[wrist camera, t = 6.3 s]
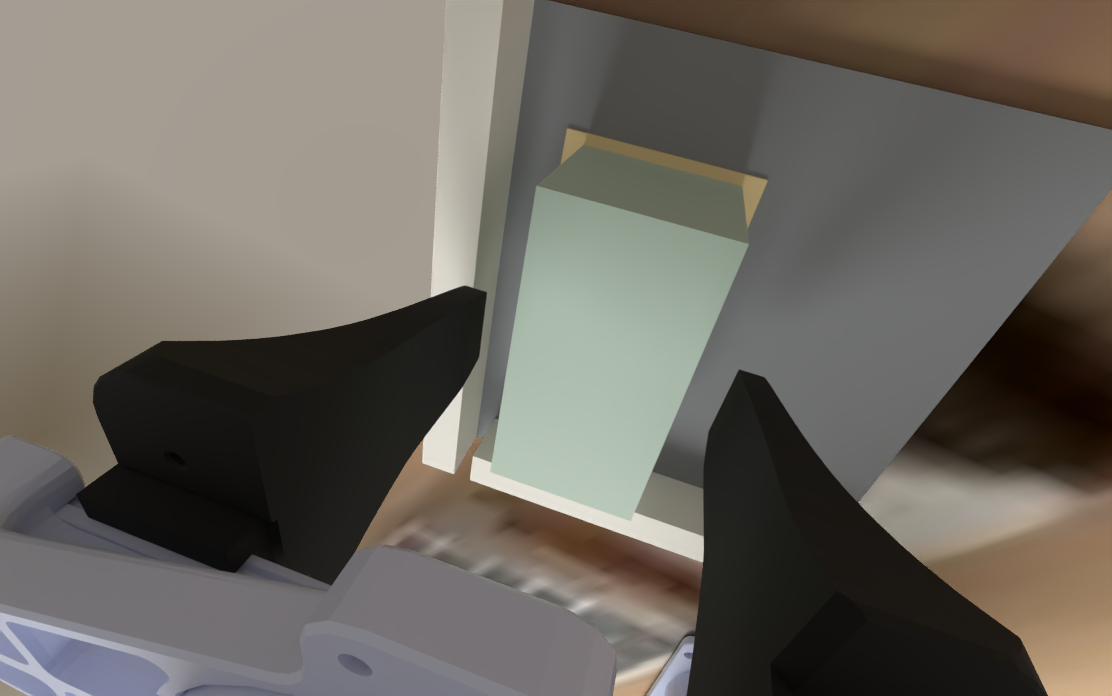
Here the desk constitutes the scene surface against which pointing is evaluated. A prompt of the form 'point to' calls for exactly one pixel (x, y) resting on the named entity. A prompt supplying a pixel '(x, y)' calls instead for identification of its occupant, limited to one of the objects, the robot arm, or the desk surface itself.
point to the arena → (755, 226)
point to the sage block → (612, 322)
